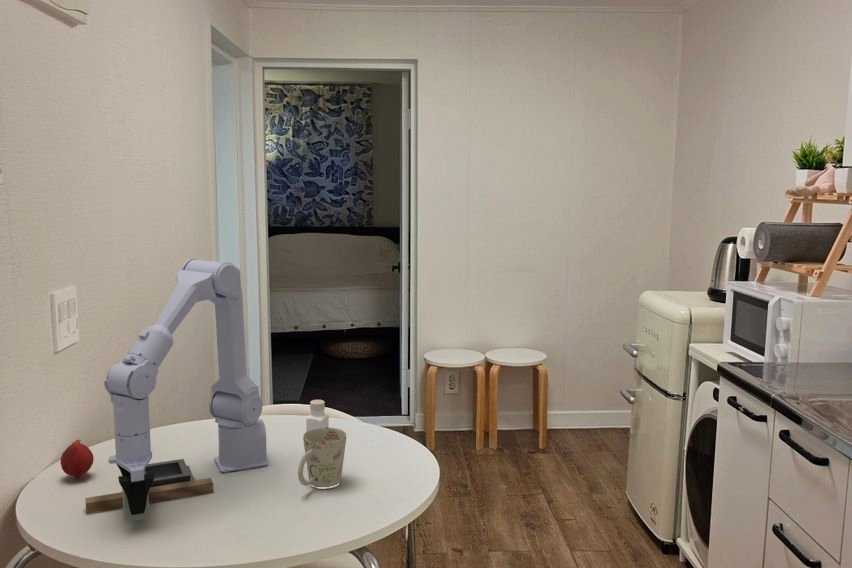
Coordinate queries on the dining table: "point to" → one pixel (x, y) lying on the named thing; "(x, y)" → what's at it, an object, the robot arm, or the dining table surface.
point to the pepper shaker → (317, 416)
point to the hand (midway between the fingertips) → (135, 504)
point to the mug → (323, 457)
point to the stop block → (128, 514)
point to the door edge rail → (151, 495)
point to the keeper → (169, 472)
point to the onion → (76, 459)
